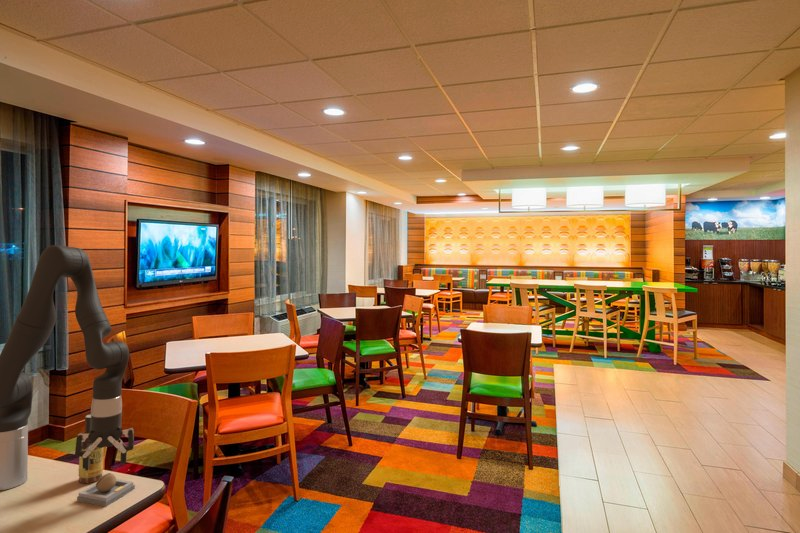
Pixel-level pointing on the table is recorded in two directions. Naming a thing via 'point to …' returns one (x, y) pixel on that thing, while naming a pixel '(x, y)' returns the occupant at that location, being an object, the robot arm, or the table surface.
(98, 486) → the door knob
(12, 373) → the robot arm
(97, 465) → the sauce bottle
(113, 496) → the grey square tray
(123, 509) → the table surface
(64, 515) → the table surface
